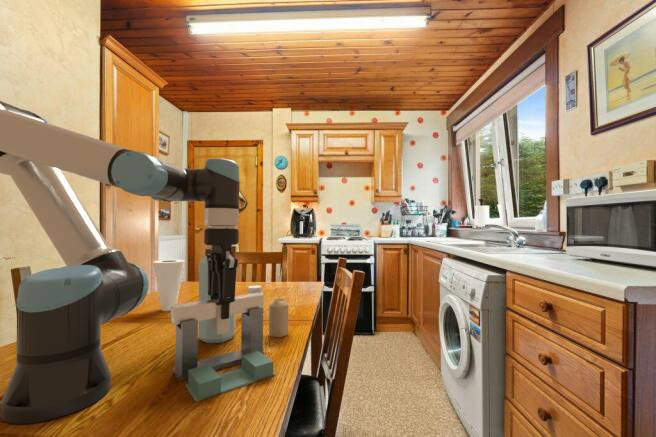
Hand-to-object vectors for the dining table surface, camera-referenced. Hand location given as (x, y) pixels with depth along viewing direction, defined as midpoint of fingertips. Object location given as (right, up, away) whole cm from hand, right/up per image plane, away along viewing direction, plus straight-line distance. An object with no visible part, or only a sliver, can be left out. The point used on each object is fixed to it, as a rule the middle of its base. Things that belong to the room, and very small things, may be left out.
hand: (220, 330), depth 71 cm
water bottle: (-6, -8, +16) cm, 19 cm away
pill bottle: (-1, -9, +38) cm, 39 cm away
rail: (0, +3, 0) cm, 3 cm away
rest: (+5, -7, -8) cm, 12 cm away
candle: (+10, -8, +19) cm, 23 cm away
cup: (-35, -9, +46) cm, 58 cm away
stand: (0, -8, 0) cm, 8 cm away
